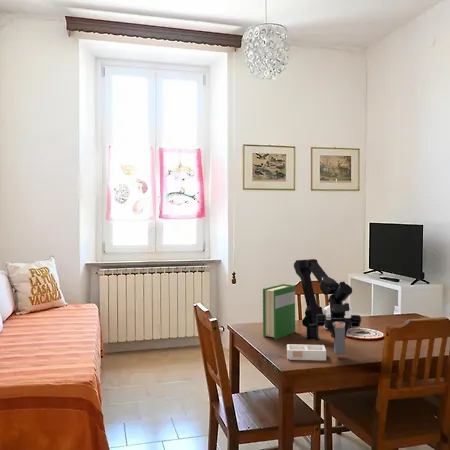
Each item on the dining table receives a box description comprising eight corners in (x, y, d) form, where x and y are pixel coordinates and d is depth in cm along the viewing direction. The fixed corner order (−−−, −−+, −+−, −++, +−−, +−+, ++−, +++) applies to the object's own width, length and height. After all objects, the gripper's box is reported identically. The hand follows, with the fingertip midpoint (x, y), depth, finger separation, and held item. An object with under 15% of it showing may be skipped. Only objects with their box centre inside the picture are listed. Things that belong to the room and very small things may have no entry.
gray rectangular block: (334, 351, 202) (334, 321, 202) (343, 351, 202) (343, 321, 201) (335, 354, 198) (335, 323, 198) (344, 354, 198) (345, 323, 197)
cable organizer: (334, 324, 258) (334, 302, 257) (353, 326, 251) (353, 305, 251) (323, 330, 245) (323, 307, 245) (342, 333, 239) (342, 310, 239)
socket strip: (286, 353, 207) (286, 344, 207) (324, 354, 205) (324, 345, 205) (287, 359, 198) (287, 350, 198) (326, 360, 196) (326, 351, 196)
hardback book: (275, 339, 228) (275, 290, 228) (263, 336, 233) (262, 288, 232) (295, 332, 242) (295, 285, 241) (283, 329, 247) (282, 283, 246)
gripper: (316, 295, 204) (318, 327, 194) (360, 296, 202) (365, 328, 192) (314, 309, 212) (316, 341, 202) (357, 310, 210) (361, 342, 200)
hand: (339, 338), depth 199 cm, fingers closed on gray rectangular block, 4 cm apart
